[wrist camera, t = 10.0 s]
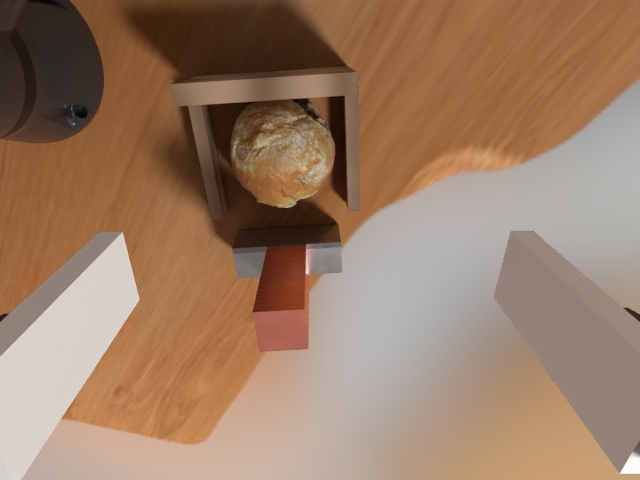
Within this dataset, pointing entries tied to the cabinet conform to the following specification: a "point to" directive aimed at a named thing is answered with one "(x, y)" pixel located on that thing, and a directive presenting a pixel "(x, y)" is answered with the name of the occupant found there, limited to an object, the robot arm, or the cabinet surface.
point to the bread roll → (281, 151)
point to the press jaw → (285, 278)
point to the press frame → (264, 89)
